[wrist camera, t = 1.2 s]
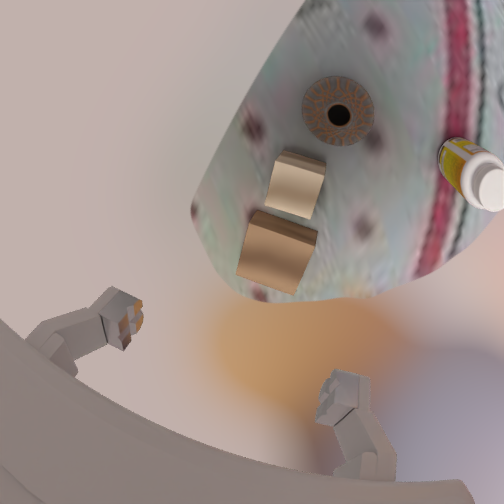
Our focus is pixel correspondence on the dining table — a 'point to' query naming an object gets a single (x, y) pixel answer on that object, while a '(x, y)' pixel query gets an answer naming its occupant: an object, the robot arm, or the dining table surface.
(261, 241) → the walnut block
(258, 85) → the dining table surface
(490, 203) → the supplement bottle
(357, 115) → the vase
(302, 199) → the maple cube
